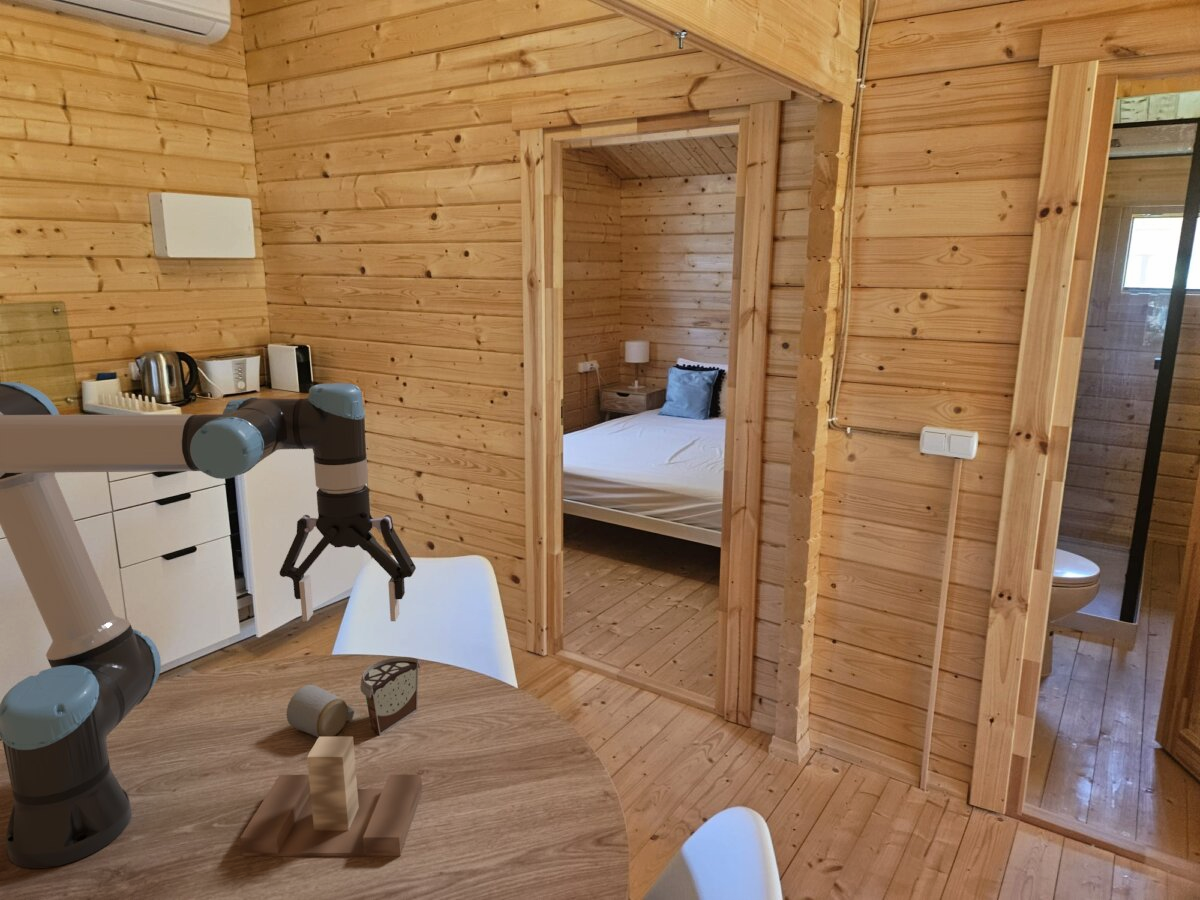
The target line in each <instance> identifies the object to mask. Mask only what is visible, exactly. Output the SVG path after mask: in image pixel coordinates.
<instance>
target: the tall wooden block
mask: <svg viewBox="0 0 1200 900" xmlns="http://www.w3.org/2000/svg"><path fill="white" fill-rule="evenodd" d="M355 757H356V756H355V745H354V736H333V737H317V739H316V741H315V743H314V744H313V746H312V748H311V750H310V751H309V753H308V755H307V756H306V761H307V769H308V770H307V771H308V775H309V782H310V793H311V803H312V813H313V824H314V830H349V828H350V826H351V824H352V822H353V819H354V817H355V815H356V813H357V810H358V808H359V804H358V792H357V789H358V782H357V781H358V780H357V768H356V758H355Z"/></svg>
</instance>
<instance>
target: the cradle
mask: <svg viewBox="0 0 1200 900" xmlns="http://www.w3.org/2000/svg"><path fill="white" fill-rule="evenodd" d="M422 782H423V780H422V774H388V776H387V779H386V781H385V783H384V785H383V788H357V792H358V804H359V808H358V810H357V813H356V815H355V817H354V819H353V822H352V824H351V826H350V828H349V830H314V824H313V813H312V803H311V793H310V782H309V774H279V775H278V777H277V778H276V780H275V781H274V783H273V785H272V786H271V788H270V789H269V791H268V793H267V794H266V795H265V798H264V799H263V800H262V802H261V803H260V805H259V807H258V809H257V810H256V812H255V814H254V815H253V816H252V818H251V820H250V821H249V823H248V825H247V826H246V828H245V830H244V831H243V832H242V834H241V835H240V846H241V853H242V857H401V856H402V853H403V849H404V846H405V843H406V841H407V839H408V838H407V837H408V835H409V832H410V830H411V826H412V822H413V820H414V816H415V814H416V811H417V808H418V806H419V802H420V800H421V796H422V793H423V783H422Z"/></svg>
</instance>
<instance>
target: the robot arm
mask: <svg viewBox="0 0 1200 900" xmlns="http://www.w3.org/2000/svg"><path fill="white" fill-rule="evenodd" d="M363 402H364V401H363V394H362V390H361V388H360V387H359V386H357V385H356V384H353V383H349V382H347V383H346V382H333V383H332V382H331V383H330V382H329V383H320V384H315V385H312V386H311V387H310V388H309V389H308V395H307V397H305V398H268V397H267V398H262V397H260V398H259V397H254V396H253V397H249V398H236V399H232V400H230V401H228V402H227V404H226V405H225V408H224V409H223V410H222V414H221V413H220V414H217V413H216V414H215V413H214V414H213V413H211V414H209V413H208V414H207V413H206V414H205V413H204V414H203V413H202V414H192V413H191V414H188V413H187V414H186V413H185V414H179V413H178V414H173V413H172V414H168V413H167V414H60V412H59V410H58V408H57V407H56V406H55V404H54V403H53V401H52V400H51V399H50V397H48V396H47V395H45V393H43V392H42V391H40V390H38V389H37V388H34V387H32V386H30V385H29V384H25V383H22V382H16V381H3V382H0V527H1V529H2V531H3V534H4V536H5V538H6V540H7V543H8V545H9V547H10V549H11V552H12V553H13V556H14V559H15V560H16V562H17V565H18V568H19V569H20V572H21V574H22V576H23V578H24V580H25V583H26V585H27V587H28V589H29V591H30V593H31V596H32V598H33V599H34V602H35V606H36V607H37V610H38V612H39V613H40V616H41V618H42V620H43V622H44V624H45V627H46V628H47V629H46V630H47V631H48V633H49V636H50V638H51V640H52V641H51V644H50V646H49V648H48V649H47V652H46V654H45V657H46V659H47V661H48V663H49V666H50V668H47V669H44V670H41V671H39V673H38V674H37V675H36V674H35V675H29V676H27V677H25V678H23V679H22V680H21V681H19V682H17V683H16V684H15V685H13V686H12V687H11V688H10V689H9V690H8V691H7V692H6V694H5V695H4V696H3V698H2V699H1V701H0V739H1V741H2V745H3V749H4V755H5V761H6V764H7V769H8V770H7V771H8V775H9V781H10V786H11V791H12V796H13V803H12V807H11V811H10V816H9V821H8V826H7V828H6V829H7V830H6V835H5V845H6V849H7V855H8V858H9V860H10V861H11V862H12V863H13V864H15V865H16V866H19V867H22V868H26V869H27V868H28V869H47V868H54V867H59V866H62V865H66V864H70V863H73V862H76V861H78V860H81V859H83V858H86V857H88V856H91V855H92V854H94V853H96V852H98V851H100V850H101V849H103V848H105V847H106V846H107V845H109V844H110V843H112V842H113V841H115V839H117V838H118V837H119V836H120V835H121V834H122V833H123V832H124V830H125V829H126V828H127V826H128V825H129V823H130V821H131V818H132V808H131V801H130V797H129V795H128V793H127V792H126V791H125V789H123V788H122V786H121V784H120V782H119V781H118V779H117V777H116V775H115V774H114V773H113V771H112V768H111V764H110V759H109V752H108V745H107V744H108V743H107V737H108V736H109V735H110V733H111V732H112V731H113V730H114V729H115V728H116V727H117V726H119V724H120V723H121V722H122V721H123V720H124V719H125V718H126V717H127V716H128V715H129V714H130V712H131V711H132V710H134V708H136V706H138V705H140V704H141V703H142V702H143V700H145V698H147V696H148V695H149V693H150V691H151V690H152V689H153V687H154V686H155V684H156V682H157V680H158V679H159V676H160V672H161V667H162V666H161V664H162V663H161V655H160V652H159V649H158V647H157V646H156V643H154V641H153V639H151V637H149V636H148V635H143V634H142V632H141V631H139V630H137V629H134V628H133V627H132V625H131V621H129V620H128V619H125V618H122V617H119V616H116V615H115V614H114V612H113V608H112V606H111V604H110V602H109V600H108V598H107V595H106V593H105V591H104V589H103V585H102V584H101V580H100V579H99V577H98V574H97V572H96V570H95V569H96V568H95V566H94V565H93V563H92V560H91V558H90V554H89V552H88V550H87V548H86V546H85V544H84V541H83V539H82V537H81V534H80V532H79V529H78V528H77V525H76V522H75V520H74V518H73V515H72V513H71V511H70V509H69V506H68V504H67V501H66V499H65V497H64V494H63V492H62V490H61V488H60V485H59V483H58V480H57V477H56V476H55V475H56V473H131V472H132V473H133V472H134V473H136V472H137V473H140V472H142V473H143V472H149V473H150V472H202V473H203V474H205V475H207V476H209V477H211V478H215V479H219V480H220V479H221V480H223V479H224V480H225V479H226V480H228V479H232V478H235V477H237V476H240V475H243V474H246V473H247V472H250V471H251V470H252V469H253V468H254V467H256V466H257V464H259V463H260V462H261V461H263V460H264V459H266V458H267V457H269V456H270V455H272V454H273V453H275V452H276V451H280V450H310V449H312V453H313V463H314V477H315V478H314V479H315V486H316V488H318V490H316V503H317V512H318V513H317V514H318V516H317V518H316V517H311V516H310V515H308V514H304V515H303V516H302V517H301V518H299V519H298V520H297V521H296V534H295V537H294V538H293V541H292V543H291V546H290V548H289V550H288V551H287V554H286V557H285V559H284V561H283V564H282V566H281V568H280V569H279V576H280V577H282V578H290V579H291V580H292V581H293V582H292V583H293V585H292V586H293V592H294V593H293V594H294V598H295V600H300V606H301V617H302V622H308V621H309V620H310V619H311V618H312V616H313V615H314V607H313V605H314V604H313V595H312V594H313V593H312V583H311V582H312V581H311V580H312V579H311V574H305V573H306V572H307V571H308V570H309V569H310V567H312V565H313V563H315V561H316V560H317V559H318V558H319V557H320V555H321V554H322V553H323V552H324V551H325V549H326V548H327V547H328V546H329V545H331V546H333V547H334V548H342V547H347V548H356V547H357V546H359V547H360V548H361V549H362V550H363V551H366V552H367V553H368V554H369V556H370V557H372V558H373V559H374V561H376V563H377V564H378V565H379V566H380V567H381V568H382V569H383V570H384V571H385V572H386V573H387V575H388V576H390V579H389V580H388V599H389V613H390V615H389V616H390V622H397V619H398V618H399V616H400V613H401V612H400V600H403V598H404V596H405V593H406V592H405V591H406V590H405V589H406V588H405V579H406V578H411V577H412V576H413V574H414V572H415V571H416V568H417V567H416V565H415V563H414V561H413V560H412V558H411V556H410V554H409V552H408V551H407V549H406V547H405V546H404V544H403V543H402V541H401V539H400V537H399V535H398V534H397V532H396V530H395V529H394V523H393V518H392V516H391V515H390V514H386V515H384V517H378V518H373V517H372V515H371V506H370V505H371V504H370V490H369V489H370V488H369V487H368V486H367V484H368V483H369V476H368V475H369V474H368V471H369V470H368V457H367V451H366V450H367V449H366V448H367V445H366V424H365V423H366V422H365V421H366V419H365V418H366V413H365V411H364V410H365V409H364V403H363ZM314 528H316V529H317V530H318V531H319V533H321V535H322V536H323V537H322V538H321V539H320V541H319V542H318V543H317V544H316V545H315V547H314V548H313V549H312V550H311V552H310V553H309V554H308V555H307V557H306V558H304V560H303V561H302V562H301V564H300V565H299V566H298V567H296V566H295V565H296V562H297V560H298V559H299V556H300V554H301V551H302V549H303V547H304V545H305V543H306V540H307V538H308V536H309V533H311V532H312V531H313V530H314ZM373 528H375V529H376V530H377V531H378V533H380V534H381V535H382V538H383V540H384V541H385V544H386V545H387V547H388V548H389V550H390V552H391V553H392V555H390V553H388V551H387V550H386V549H385V548H384V547H383V546H382V545H381V544H380V543H379V542H378V541H377V538H376V537H375V536H374V535H373V534H372V533H371V530H372V529H373ZM392 556H393V557H394V558H395V559H394V558H393V557H392Z"/></svg>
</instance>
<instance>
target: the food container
mask: <svg viewBox="0 0 1200 900" xmlns="http://www.w3.org/2000/svg"><path fill="white" fill-rule="evenodd" d="M419 669H421V664H420V661H419V658H418V657H417V658H416V657H411V656H395V657H390V658H386V659H381V660H380V661H377V662H374V663H372V664H371V665H369V666H368V667H367V668H366V669H365V670H364V672H363V674H362V676H361V679H360V686H359V687H360V692H361V693H362V694H363V695H364V696H365V699H366V706H367V710H368V717H369V722H370V728H371V730H372V732H374V733H375V734H376V735H378V736H381V735H382V734H385V733H386V732H387V731H389V730H390V729H391V728H393V727H395V726H396V725H398V724H399V723H401V722H402V721H404V720H405V719H406V718H408V717H410V716H411V715H412V714H414V713H416V712H417V711H418V693H419V692H418V688H419V686H418V685H419V684H418V683H419Z"/></svg>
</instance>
